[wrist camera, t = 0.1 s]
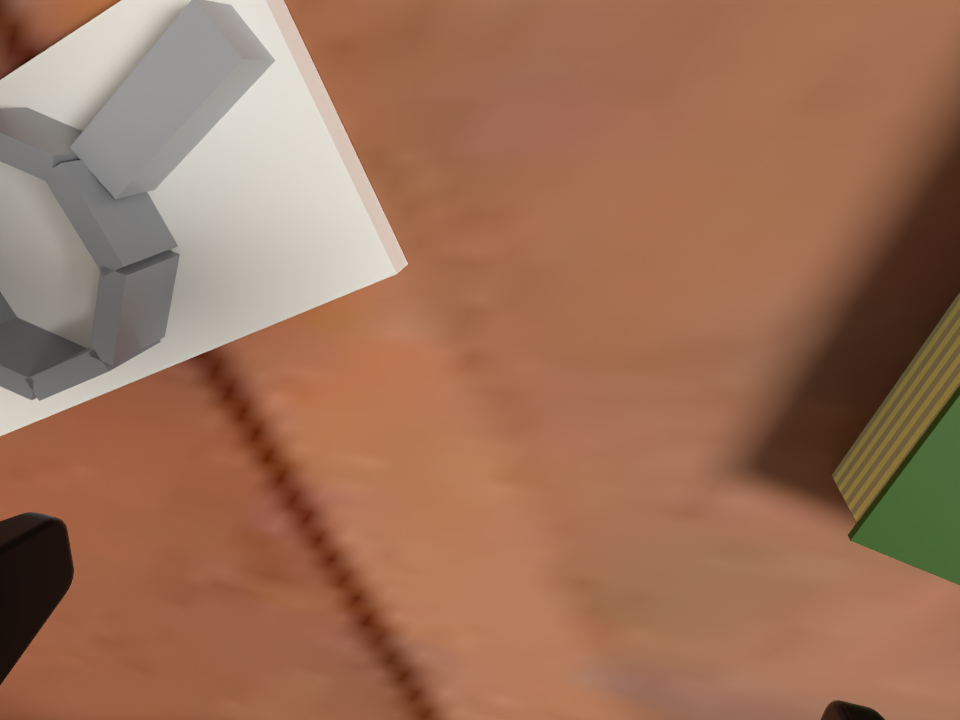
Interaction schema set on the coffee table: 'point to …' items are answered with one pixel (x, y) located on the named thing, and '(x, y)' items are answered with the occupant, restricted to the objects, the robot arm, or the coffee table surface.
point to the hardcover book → (912, 461)
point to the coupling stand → (169, 198)
